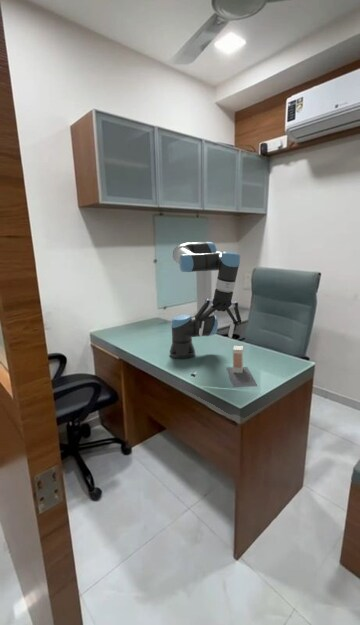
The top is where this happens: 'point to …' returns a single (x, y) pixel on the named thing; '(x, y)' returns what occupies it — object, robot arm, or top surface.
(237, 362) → the card box
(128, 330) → the top surface
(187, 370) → the top surface
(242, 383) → the mat
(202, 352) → the top surface
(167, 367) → the top surface
